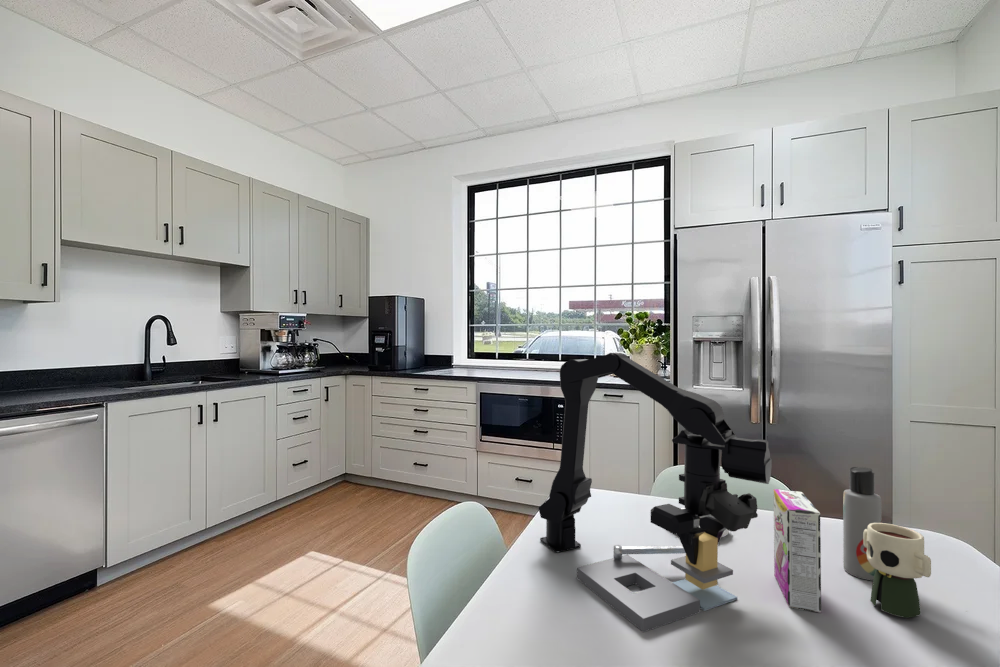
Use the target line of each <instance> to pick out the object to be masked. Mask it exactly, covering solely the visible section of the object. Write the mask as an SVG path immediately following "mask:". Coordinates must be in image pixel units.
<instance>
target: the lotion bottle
mask: <svg viewBox="0 0 1000 667" xmlns="http://www.w3.org/2000/svg"><path fill="white" fill-rule="evenodd" d="M873 471H874V470H873V469H872V468H870V467H866V466H865V467H863V466H862V467H859V466H853V467H850V468H849V472H848V473H849V489H845V490H844V491H843V495H842V496H843V498H842V499H843V500H842V501H843V504H842V506H843V507H842V508H843V510H842V511H843V512H842V514H843V515H842V516H843V517H842V518H843V519H842V520H843V521H842V524H843V525H842V526H843V527H842V528H843V529H842V530H843V531H842V532H843V535H842V536H843V538H842V539H843V544H842V546H843V547H842V548H843V549H842V550H843V552H842V554H843V555H842V556H843V558H842V559H843V560H842V563H843V564H842V566H843V569H844V570H845V572H846V573H848V574H850V575H851V576H854V577H855V578H859V579H863V580H865V581H866V580H867V581H873V579H874V574H875V571H876V570H877V569H875V568H873V567H872V566H871V564H870V563H869V561H868V559H867V548H866V547H865V546H864V543H863V532H864V530H865V529H867V527H868V525H869V524H871V523H882V498H881V496H880V495H878V494H877V493H875V492H876V473H875V472H873Z"/></svg>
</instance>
